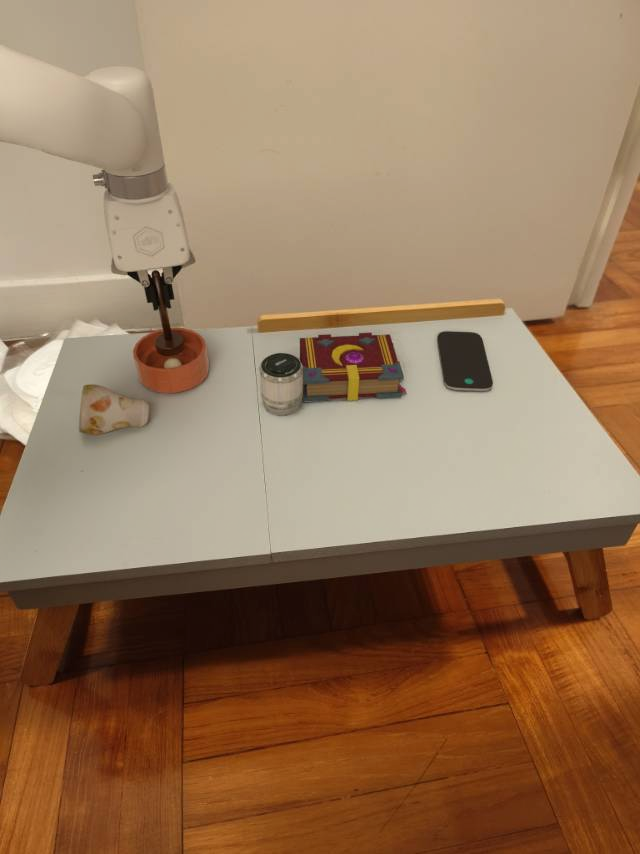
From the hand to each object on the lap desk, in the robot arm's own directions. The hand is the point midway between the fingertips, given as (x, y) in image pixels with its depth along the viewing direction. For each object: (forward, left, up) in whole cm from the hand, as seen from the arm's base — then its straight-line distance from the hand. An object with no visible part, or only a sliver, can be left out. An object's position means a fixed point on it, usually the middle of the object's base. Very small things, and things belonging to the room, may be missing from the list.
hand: (161, 304), depth 90 cm
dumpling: (0, -2, -10) cm, 10 cm away
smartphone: (+46, -11, -12) cm, 49 cm away
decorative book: (+27, -10, -12) cm, 31 cm away
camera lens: (+15, -13, -12) cm, 23 cm away
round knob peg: (0, 0, -8) cm, 8 cm away
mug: (-9, -11, -12) cm, 19 cm away
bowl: (0, -1, -12) cm, 12 cm away
